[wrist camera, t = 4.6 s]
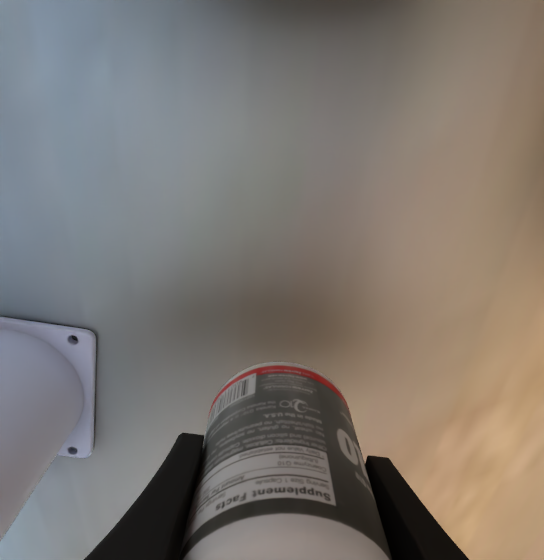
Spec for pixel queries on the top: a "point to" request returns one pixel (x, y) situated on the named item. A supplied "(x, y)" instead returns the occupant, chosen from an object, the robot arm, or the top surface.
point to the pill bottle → (282, 474)
